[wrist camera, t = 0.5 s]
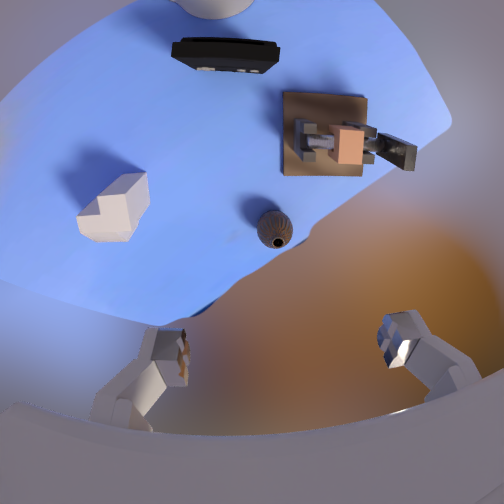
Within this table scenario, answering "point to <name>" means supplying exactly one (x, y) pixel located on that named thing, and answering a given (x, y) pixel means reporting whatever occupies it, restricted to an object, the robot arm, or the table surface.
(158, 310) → the table surface
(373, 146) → the shaft
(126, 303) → the table surface
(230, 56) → the handheld gaming console
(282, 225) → the vase
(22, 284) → the table surface
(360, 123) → the shaft stand
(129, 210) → the corner bracket
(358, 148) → the block
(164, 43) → the table surface
